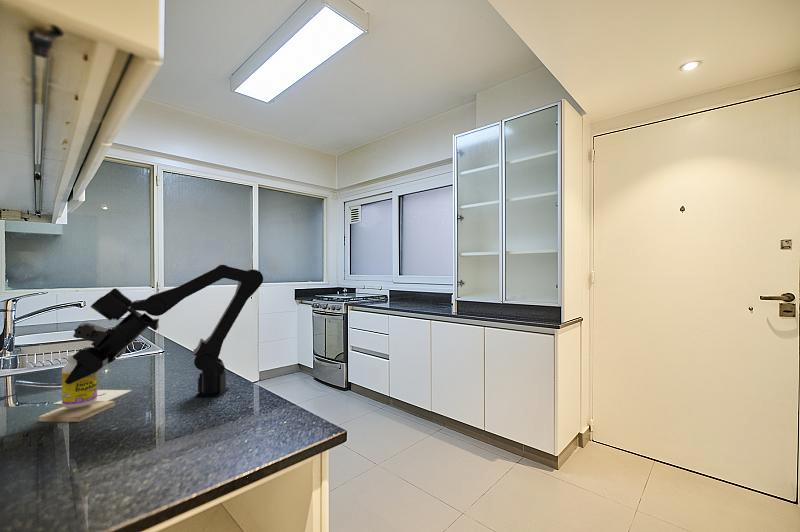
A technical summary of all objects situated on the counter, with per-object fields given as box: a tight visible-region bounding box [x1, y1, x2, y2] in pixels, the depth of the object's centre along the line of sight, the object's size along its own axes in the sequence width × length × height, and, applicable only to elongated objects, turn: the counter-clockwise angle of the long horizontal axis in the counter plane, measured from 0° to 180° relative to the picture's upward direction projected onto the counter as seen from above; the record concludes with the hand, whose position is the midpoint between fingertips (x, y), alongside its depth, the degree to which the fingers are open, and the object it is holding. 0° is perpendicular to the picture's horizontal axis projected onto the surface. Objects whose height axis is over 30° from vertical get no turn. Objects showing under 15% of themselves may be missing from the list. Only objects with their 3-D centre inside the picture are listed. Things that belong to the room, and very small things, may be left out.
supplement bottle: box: [61, 351, 98, 408], centre depth 89 cm, size 7×7×13 cm
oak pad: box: [38, 400, 116, 423], centre depth 89 cm, size 10×10×1 cm
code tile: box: [52, 389, 133, 405], centre depth 100 cm, size 13×11×1 cm
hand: (73, 379), depth 88 cm, fingers closed on supplement bottle, 7 cm apart
